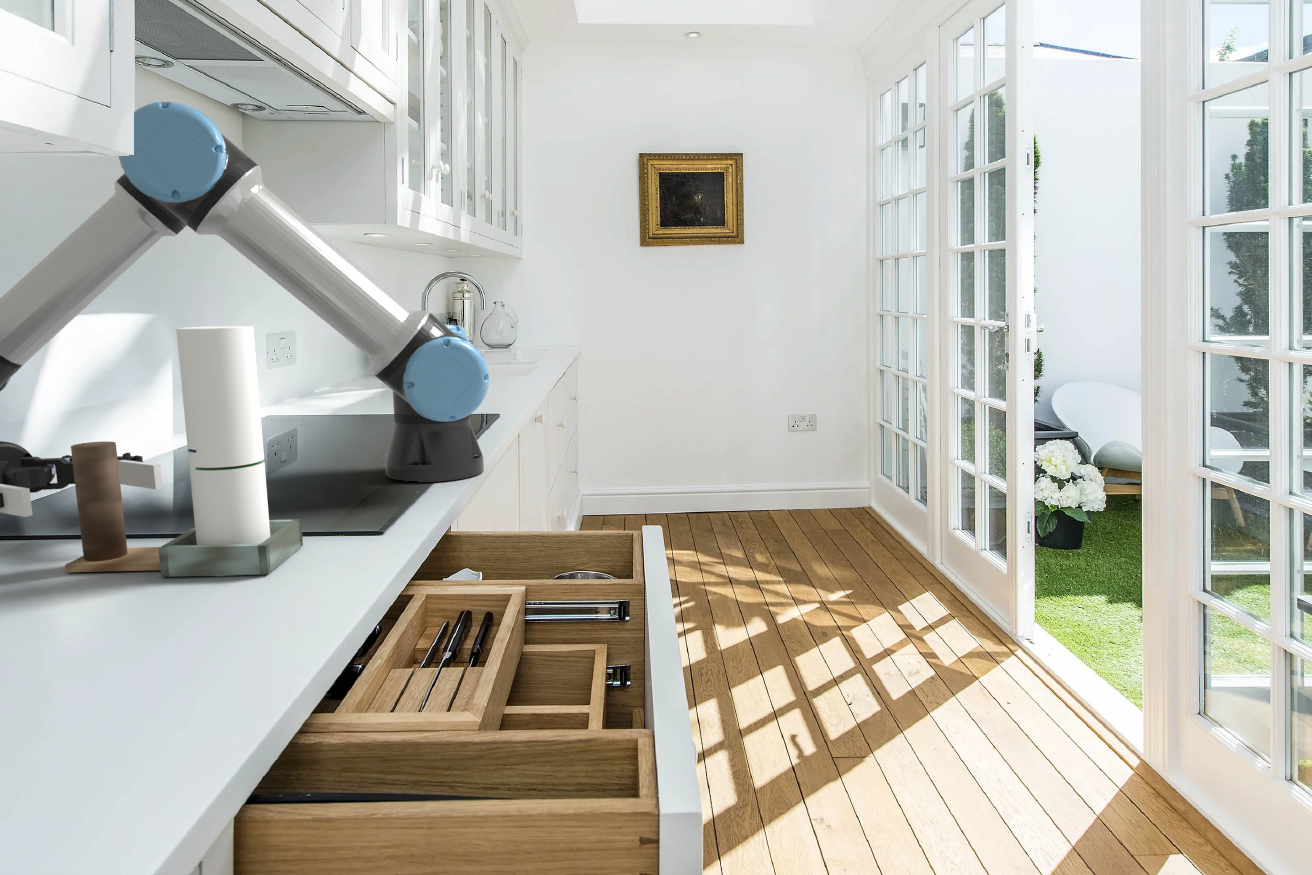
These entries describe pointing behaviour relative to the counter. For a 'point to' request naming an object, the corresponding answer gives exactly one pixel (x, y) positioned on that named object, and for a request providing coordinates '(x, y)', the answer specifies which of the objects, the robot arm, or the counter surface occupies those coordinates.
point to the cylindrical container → (224, 434)
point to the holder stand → (174, 558)
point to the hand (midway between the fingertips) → (96, 488)
